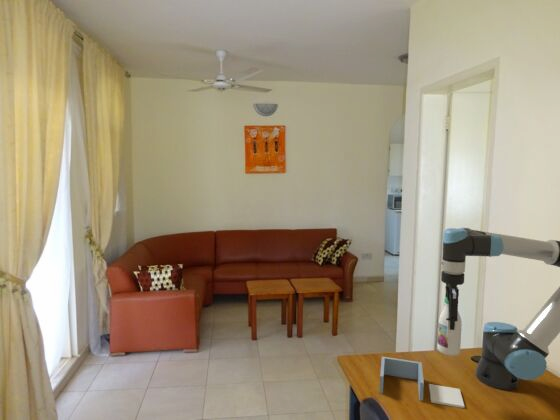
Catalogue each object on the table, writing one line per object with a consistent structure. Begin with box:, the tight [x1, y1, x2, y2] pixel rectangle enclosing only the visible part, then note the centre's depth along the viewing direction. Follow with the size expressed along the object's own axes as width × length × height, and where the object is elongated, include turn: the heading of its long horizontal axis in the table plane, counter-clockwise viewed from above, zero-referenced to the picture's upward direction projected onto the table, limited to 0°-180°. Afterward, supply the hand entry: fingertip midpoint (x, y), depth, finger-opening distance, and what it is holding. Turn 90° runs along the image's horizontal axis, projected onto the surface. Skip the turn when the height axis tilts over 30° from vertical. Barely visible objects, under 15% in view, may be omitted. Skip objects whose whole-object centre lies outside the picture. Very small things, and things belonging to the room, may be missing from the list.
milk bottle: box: [436, 297, 463, 356], centre depth 138 cm, size 8×8×20 cm
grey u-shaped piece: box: [378, 356, 425, 402], centre depth 147 cm, size 15×15×7 cm
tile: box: [428, 383, 465, 409], centre depth 141 cm, size 11×11×1 cm
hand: (449, 332), depth 138 cm, fingers closed on milk bottle, 8 cm apart
